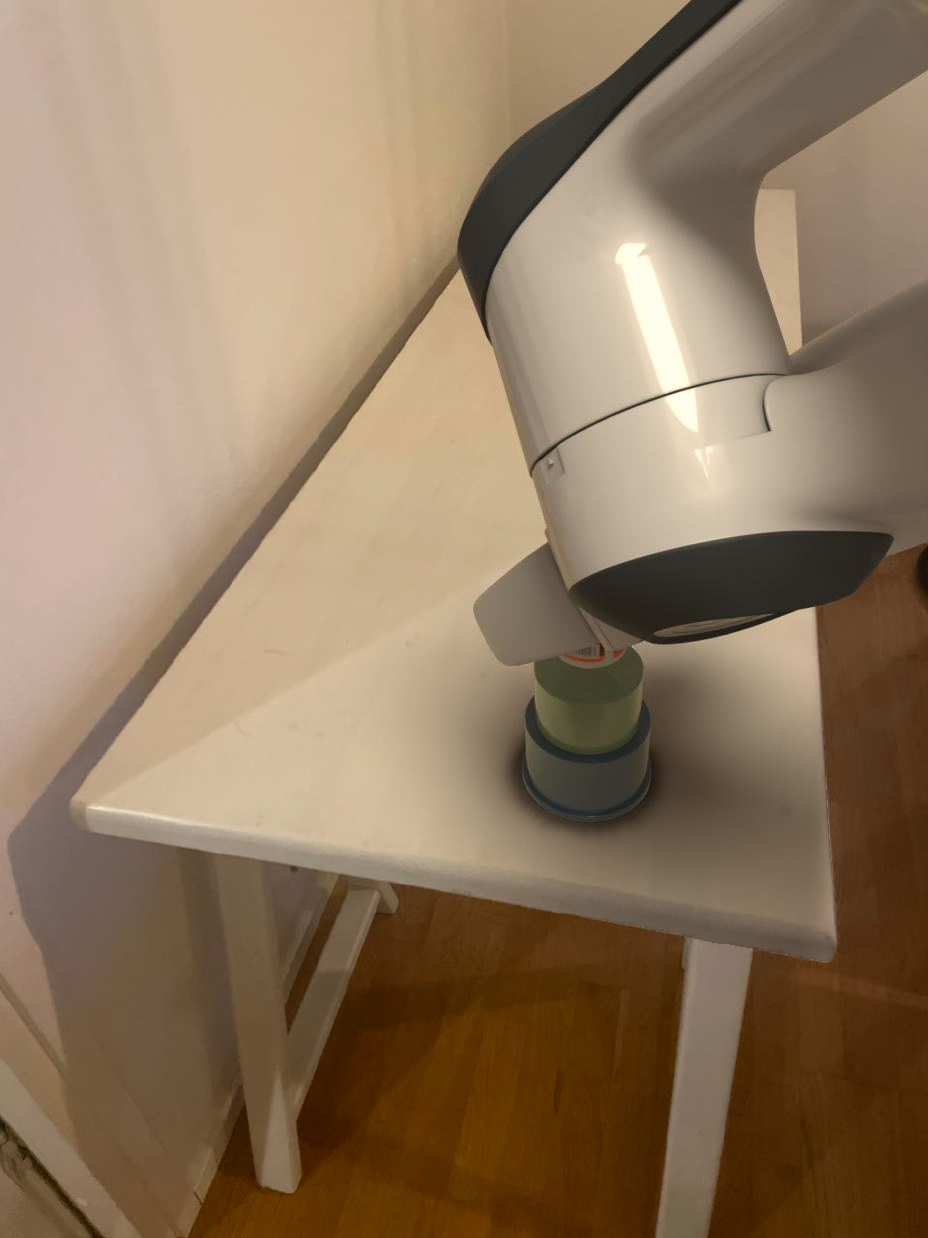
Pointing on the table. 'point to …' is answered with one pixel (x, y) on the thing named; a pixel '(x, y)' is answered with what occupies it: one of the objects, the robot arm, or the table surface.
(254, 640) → the table surface
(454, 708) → the table surface
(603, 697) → the cup stack
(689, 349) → the robot arm
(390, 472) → the table surface
